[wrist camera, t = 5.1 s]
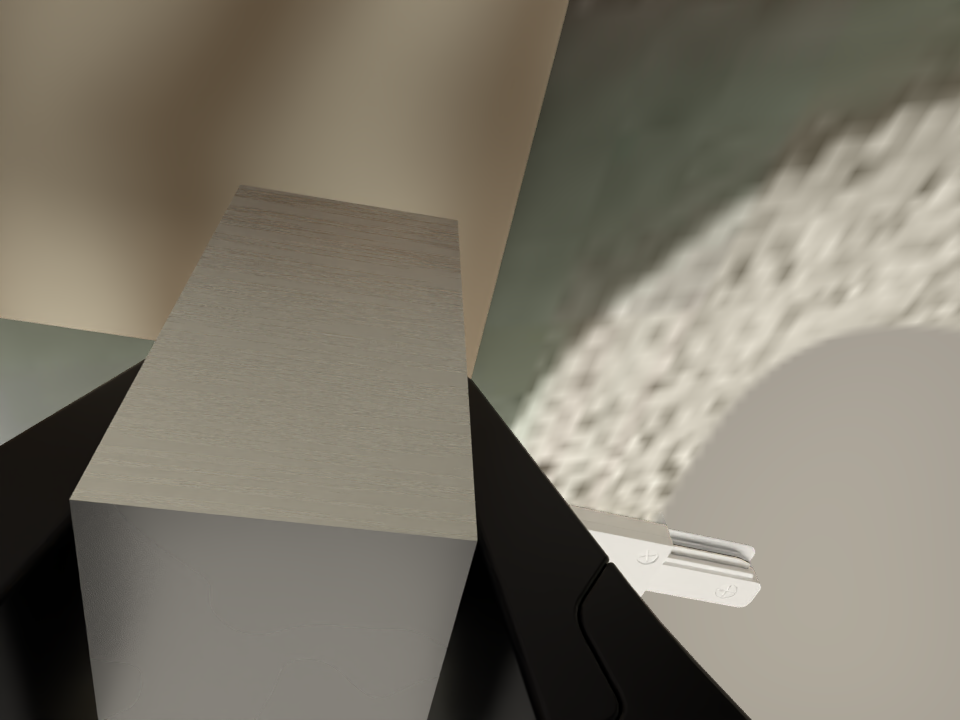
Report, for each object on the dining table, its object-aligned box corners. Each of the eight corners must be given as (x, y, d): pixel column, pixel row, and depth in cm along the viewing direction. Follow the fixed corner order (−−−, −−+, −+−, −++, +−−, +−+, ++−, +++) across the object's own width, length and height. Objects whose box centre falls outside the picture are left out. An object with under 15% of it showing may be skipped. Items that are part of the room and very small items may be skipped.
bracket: (382, 602, 13) (358, 961, 9) (-73, 562, 12) (-340, 949, 8) (457, 220, 9) (476, 541, 5) (-202, 111, 8) (-860, 404, 4)
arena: (615, -195, 15) (651, -199, 13) (468, 378, 23) (472, 445, 20) (-183, -417, 13) (-330, -474, 10) (-50, 301, 21) (-116, 366, 18)
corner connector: (671, 664, 32) (681, 699, 31) (489, 634, 31) (492, 670, 29) (767, 534, 28) (784, 569, 27) (564, 491, 26) (571, 526, 25)
